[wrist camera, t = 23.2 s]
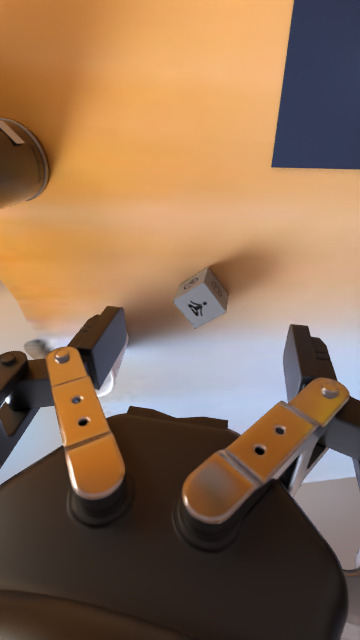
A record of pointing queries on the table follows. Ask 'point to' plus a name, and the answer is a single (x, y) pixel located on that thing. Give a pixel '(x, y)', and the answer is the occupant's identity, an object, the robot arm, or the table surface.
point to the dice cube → (201, 298)
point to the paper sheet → (321, 88)
